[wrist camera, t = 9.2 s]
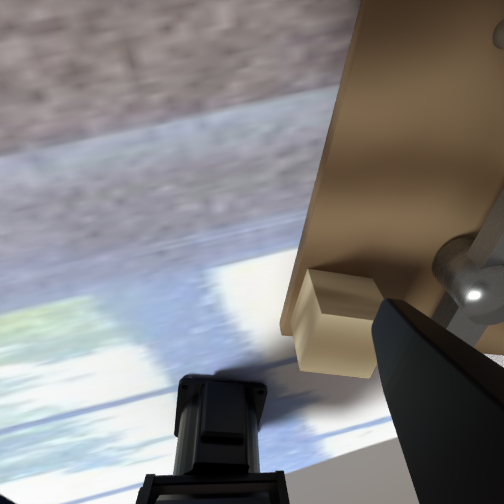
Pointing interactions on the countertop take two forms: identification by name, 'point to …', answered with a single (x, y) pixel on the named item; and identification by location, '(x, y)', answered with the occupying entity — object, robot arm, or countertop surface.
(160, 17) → the countertop surface
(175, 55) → the countertop surface
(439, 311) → the lever
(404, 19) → the board
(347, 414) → the countertop surface
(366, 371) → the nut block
